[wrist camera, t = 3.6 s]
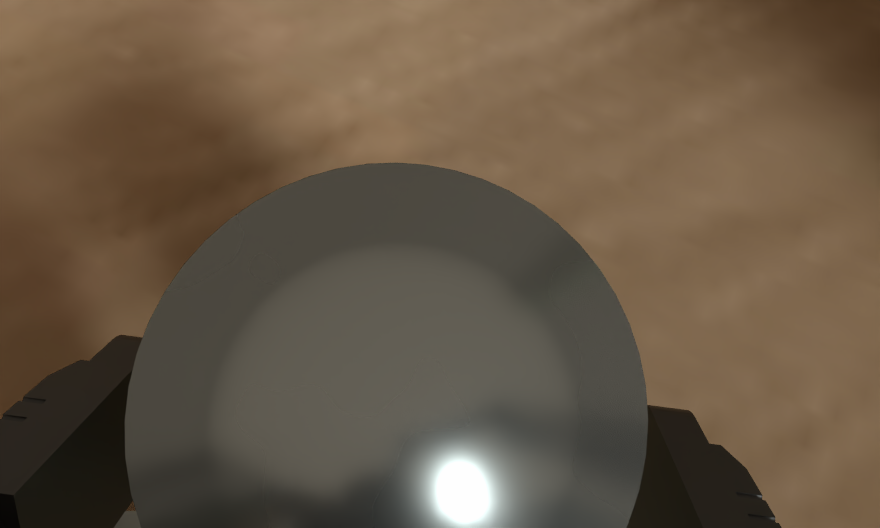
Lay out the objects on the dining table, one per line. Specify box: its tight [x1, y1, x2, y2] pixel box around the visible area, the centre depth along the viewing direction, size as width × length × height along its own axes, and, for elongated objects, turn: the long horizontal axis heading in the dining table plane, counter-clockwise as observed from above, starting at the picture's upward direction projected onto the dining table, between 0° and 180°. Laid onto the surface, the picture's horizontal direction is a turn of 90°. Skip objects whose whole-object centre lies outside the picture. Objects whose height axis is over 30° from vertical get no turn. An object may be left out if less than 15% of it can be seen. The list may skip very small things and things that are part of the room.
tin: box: [125, 163, 648, 528], centre depth 11 cm, size 5×5×10 cm
